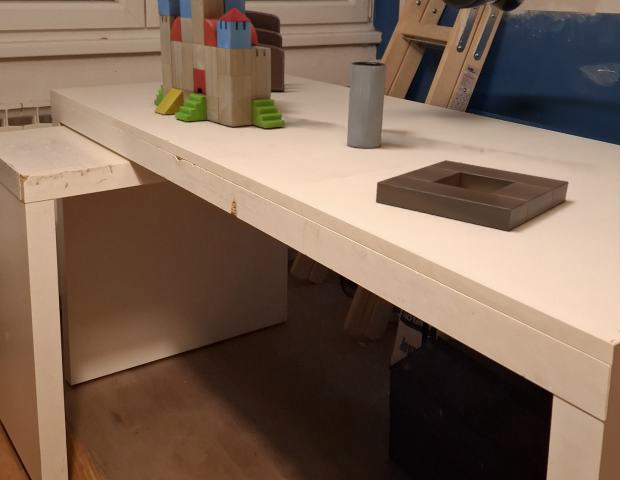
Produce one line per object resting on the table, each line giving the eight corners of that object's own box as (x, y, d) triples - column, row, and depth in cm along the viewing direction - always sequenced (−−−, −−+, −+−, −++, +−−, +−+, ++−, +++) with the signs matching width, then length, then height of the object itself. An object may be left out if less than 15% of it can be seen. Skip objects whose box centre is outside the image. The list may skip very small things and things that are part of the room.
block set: (303, 125, 113) (307, -17, 105) (222, 133, 105) (219, -20, 97) (207, 100, 133) (204, -21, 125) (133, 105, 125) (124, -24, 117)
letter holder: (181, 84, 151) (177, 7, 145) (279, 85, 154) (280, 10, 148) (180, 91, 142) (176, 9, 136) (284, 92, 145) (285, 12, 139)
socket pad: (443, 177, 86) (445, 159, 85) (565, 200, 78) (568, 181, 77) (375, 201, 75) (376, 182, 75) (508, 231, 68) (511, 209, 67)
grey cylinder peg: (342, 142, 103) (346, 61, 98) (374, 141, 104) (379, 61, 99) (352, 148, 99) (357, 65, 94) (385, 148, 100) (391, 65, 95)
